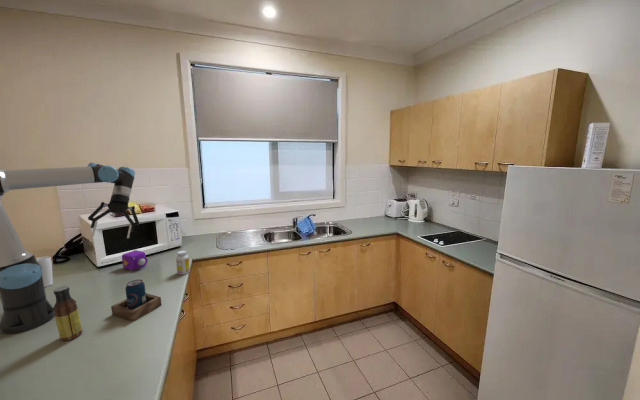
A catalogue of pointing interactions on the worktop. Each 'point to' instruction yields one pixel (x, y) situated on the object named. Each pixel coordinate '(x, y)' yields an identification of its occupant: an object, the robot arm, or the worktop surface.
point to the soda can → (135, 294)
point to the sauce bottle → (66, 314)
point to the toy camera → (134, 260)
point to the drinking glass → (46, 270)
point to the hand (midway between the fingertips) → (110, 236)
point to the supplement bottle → (182, 263)
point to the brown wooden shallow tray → (131, 315)
